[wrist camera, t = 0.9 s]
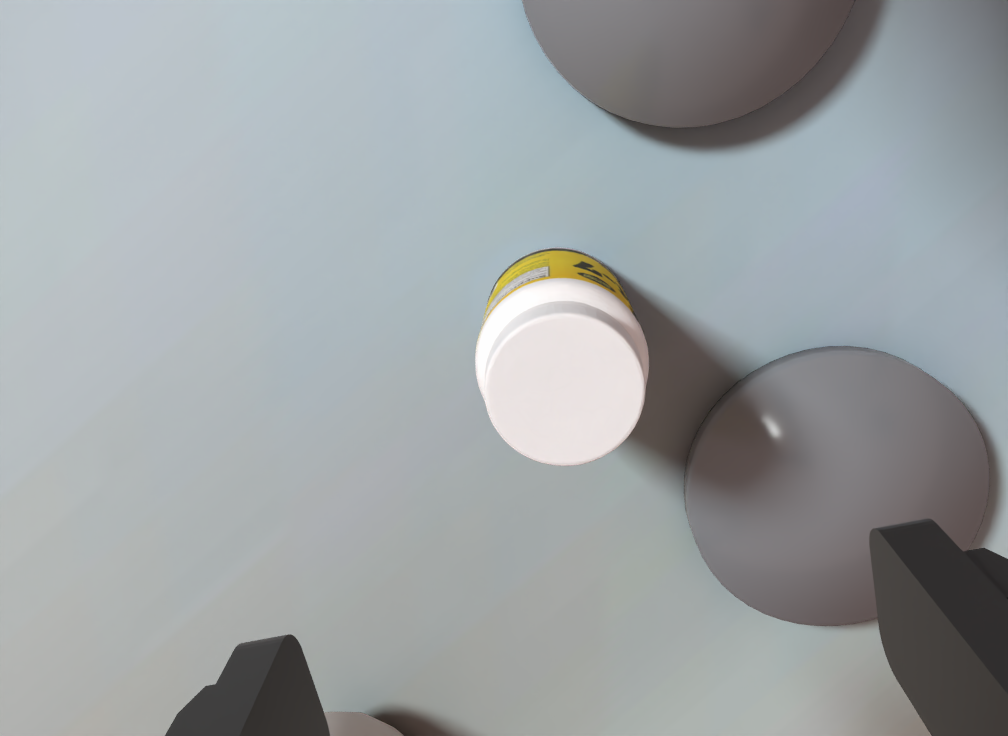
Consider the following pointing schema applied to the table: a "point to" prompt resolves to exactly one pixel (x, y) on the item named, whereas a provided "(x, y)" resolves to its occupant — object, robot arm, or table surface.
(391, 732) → the donut
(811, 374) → the dish low side
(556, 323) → the supplement bottle
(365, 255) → the table surface
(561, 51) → the dish high side
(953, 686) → the robot arm
